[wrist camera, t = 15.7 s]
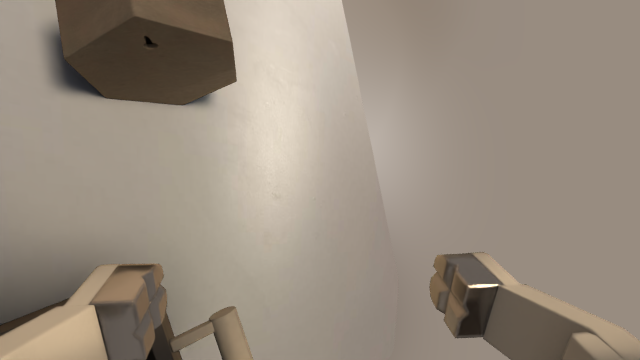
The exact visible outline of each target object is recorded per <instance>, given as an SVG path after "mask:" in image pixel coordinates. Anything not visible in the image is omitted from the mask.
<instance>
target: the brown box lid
mask: <svg viewBox="0 0 640 360" xmlns="http://www.w3.org/2000/svg"><path fill="white" fill-rule="evenodd" d="M154 332H155V340H154V343H153V345H152V350H153V353H154V356H155V359H156V360H182V358H181V355H180V352H179V350H180V349H182V348H184V347H186V346H188V345H190V344H192V343H194V342H196V341H198V340H200V339H202V338H204V337H206V336H208V335H210V334H212V333H214V336H215V339H216V342H217V345H218V347H219V350H220V353H221V356H222V359H223V360H253V357H252V354H251V351H250V348H249V345H248V342H247V339H246V337H245V334H244V331H243V328H242V325H241V322H240V319H239V316H238V313H237V310H236V307H235V306H231V307H227V308H224V309H222V310H220V311H218V312H216V313H214V314H213V315H212V316H211V317H210V318H209V321H207V322H205V323H203V324H200V325H198V326H196V327H194V328H192V329H190V330H188V331H186V332H184V333H182V334H180V335H178V336H176V337H174V334H173V331H172V328H171V325H170V322H169V319H168V316H167V313H166V312H165V317H164V319H163V322H162V324H161V325H160V326H159V327H158V328H156V329H155V330H154Z"/></svg>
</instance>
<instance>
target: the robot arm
mask: <svg viewBox="0 0 640 360" xmlns="http://www.w3.org/2000/svg"><path fill="white" fill-rule="evenodd" d="M433 266H434V268H435V270H436V271H437V272H436V273H435V274H434V275H433V276H432V277H431V281H430V296H431V299H432V302H433V304H434V305H435V307H436V309H437V310H439V311H441V312H442V313H444V314H445V317H444V322H445V323H446V325H447V326H448V328H449V329H450V331H451V332H452V334H453V336H454V337H455V338H474V337H483V339H484V340H486V341H487V342H488V343H489V344H491V345H492V346H493V347H495V348H496V349H497V350H499V351H500V352H501V353H503V354H504V355H505V356H507V357H508V358H509V359H511V360H640V341H639V340H638V339H636V338H635V337H634V336H633V335H631V334H630V333H629V332H628V331H626V330H625V329H624V328H622V327H619V326H617V325H615V324H613V323H611V322H608V321H606V320H604V319H602V318H599V317H597V316H595V315H593V314H591V313H588V312H586V311H584V310H581V309H579V308H577V307H575V306H573V305H570V304H568V303H566V302H564V301H562V300H559V299H557V298H555V297H553V296H550V295H548V294H546V293H544V292H541V291H539V290H537V289H535V288H533V287H530V286H528V285H526V284H519V283H518V282H517V281H516V280H515V279H514V278H513V277H512V276H511V275H510V274H509V273H508V272H507V271H506V270H505V269H503V268H502V267H501V266H500V265H499V264H498V263H497V262H496V261H495V260H494V259H493V258H492V257H491V256H490V255H489V254H487V253H484V252H475V253H466V254H444V255H437V257H436V258H435V261H434V265H433ZM163 277H164V274H163V269H162V266H161V265H160V264H107V265H100V266H97V267H96V269H95V270H94V271H93V272H92V273H91V274H90V276H89V277H88V278H87V279H86V280H85V281H84V283H83V284H82V285H81V286H80V287H79V288H78V290H77V291H76V292H75V293H74V294H73V295H72V297H71V298H70V299H69V300H68V301H67V302H66V304H65V305H64V306H58V307H55V308H53V309H51V310H49V311H47V312H45V313H43V314H41V315H40V316H38V317H36V318H34V319H32V320H30V321H28V322H26V323H25V324H23V325H21V326H19V327H17V328H15V329H13V330H11V331H9V332H8V333H6V334H4V335H2V336H0V360H146V359H147V356H148V354H149V352H150V350H151V347H152V345H153V343H154V340H155V332H154V330H155V329H156V328H158V327H159V326H160V325H161V324H162V322H163V319H164V317H165V312H166V307H167V294H166V289H165V288H164V287H163V286H162V285H161V284H160V283H161V281H162V279H163Z"/></svg>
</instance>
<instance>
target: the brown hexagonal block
mask: <svg viewBox="0 0 640 360" xmlns="http://www.w3.org/2000/svg"><path fill="white" fill-rule="evenodd" d="M55 2H56V9H57V15H58V22H59V29H60V35H61V42H62V49H63V55H64V59H65V60H66V61H67V62H68V63H69V64H70V65H71V66H72V67H73V68H74V69H75V70H76V71H77V72H79V73H80V74H81V75H82V76H83V77H84V78H85V79H86V80H87V81H88V82H89V83H90V84H91V85H92V86H94V87H95V88H96V89H97V90H98V91H99V92H100V93H101V94H102V95H103V96H104V97H105V98H110V99H121V100H131V101H142V102H153V103H164V104H175V105H184V104H187V103H189V102H191V101H194V100H196V99H198V98H200V97H203V96H205V95H207V94H209V93H212V92H214V91H216V90H218V89H221V88H223V87H225V86H227V85H230V84H232V83H234V82H236V81H237V79H236V69H235V60H234V51H233V42H232V37H231V33H230V28H229V24H228V19H227V14H226V10H225V5H224V1H223V0H55Z"/></svg>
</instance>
